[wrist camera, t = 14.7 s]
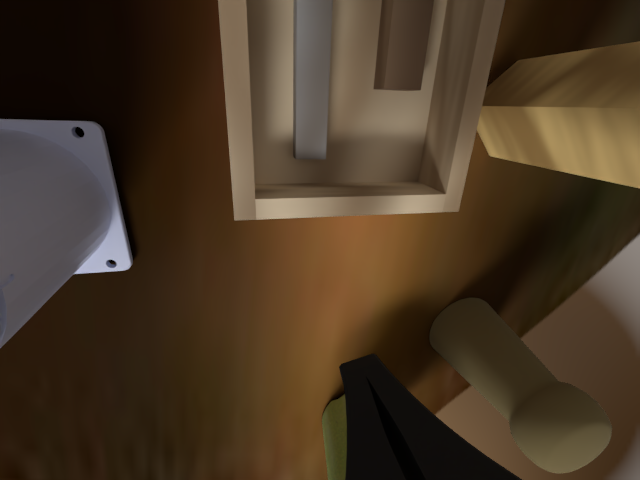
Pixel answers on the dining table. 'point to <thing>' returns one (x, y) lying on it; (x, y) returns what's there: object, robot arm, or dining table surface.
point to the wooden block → (569, 113)
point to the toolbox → (353, 103)
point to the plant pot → (335, 438)
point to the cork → (521, 387)
